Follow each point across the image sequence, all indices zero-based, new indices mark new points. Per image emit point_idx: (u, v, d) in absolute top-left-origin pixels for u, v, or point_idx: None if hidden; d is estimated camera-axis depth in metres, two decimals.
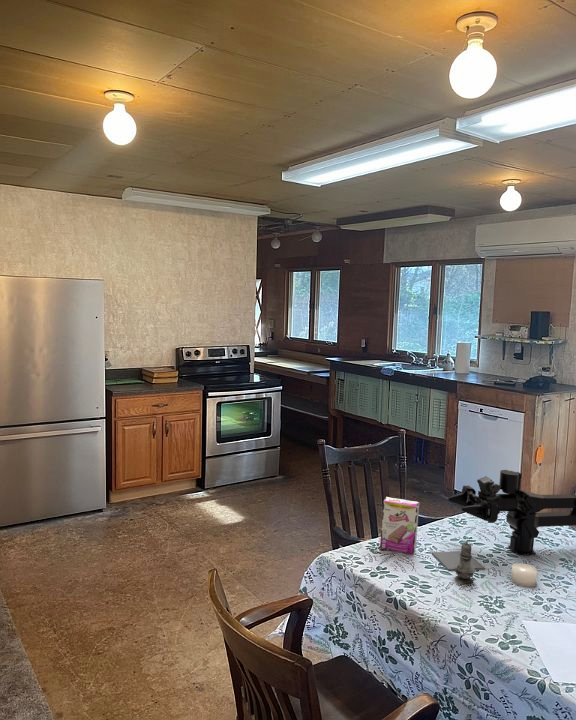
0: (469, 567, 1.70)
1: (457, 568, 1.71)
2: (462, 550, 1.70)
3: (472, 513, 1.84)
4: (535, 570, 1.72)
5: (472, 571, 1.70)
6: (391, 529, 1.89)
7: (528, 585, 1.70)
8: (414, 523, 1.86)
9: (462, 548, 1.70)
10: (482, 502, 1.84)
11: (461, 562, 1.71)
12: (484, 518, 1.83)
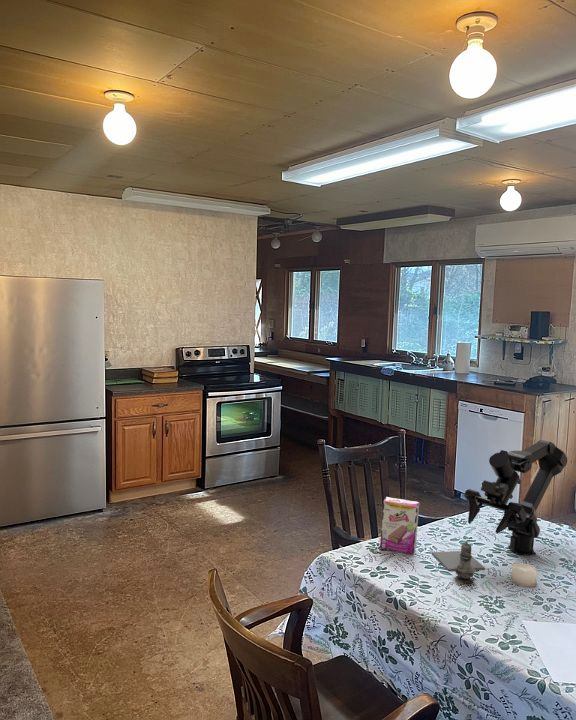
0: (469, 567, 1.70)
1: (457, 568, 1.71)
2: (462, 550, 1.70)
3: (505, 527, 1.74)
4: (535, 570, 1.72)
5: (472, 571, 1.70)
6: (391, 529, 1.89)
7: (528, 585, 1.70)
8: (414, 523, 1.86)
9: (462, 548, 1.70)
10: (506, 512, 1.73)
11: (461, 562, 1.71)
12: (516, 521, 1.75)
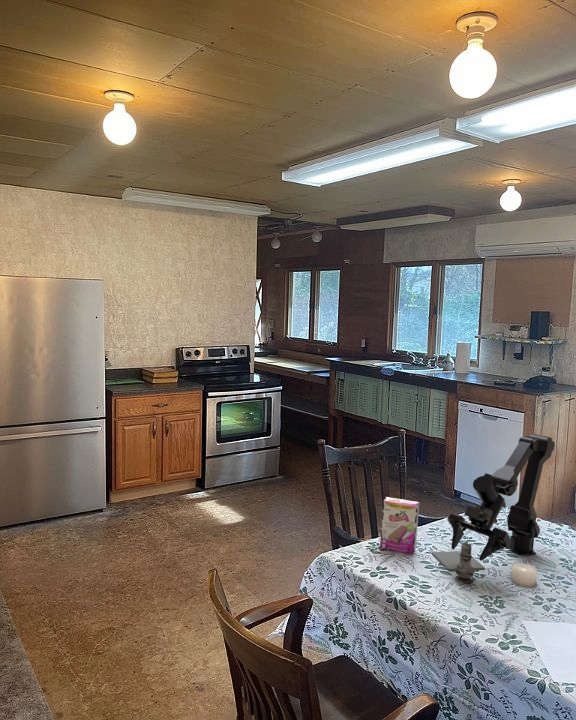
0: (469, 567, 1.70)
1: (457, 568, 1.71)
2: (462, 550, 1.70)
3: (489, 553, 1.69)
4: (535, 570, 1.72)
5: (472, 571, 1.70)
6: (391, 529, 1.89)
7: (528, 585, 1.70)
8: (414, 523, 1.86)
9: (462, 548, 1.70)
10: (490, 538, 1.68)
11: (461, 562, 1.71)
12: (500, 548, 1.69)
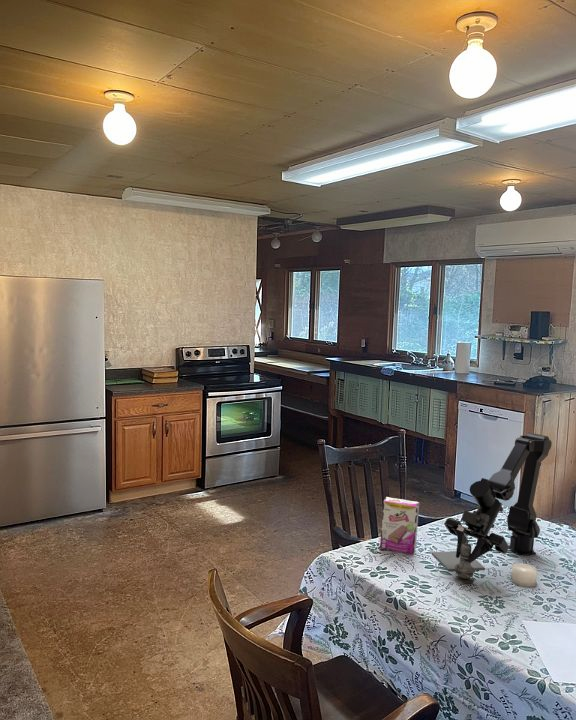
0: (469, 567, 1.70)
1: (457, 568, 1.71)
2: (462, 550, 1.70)
3: (478, 556, 1.70)
4: (535, 570, 1.72)
5: (472, 571, 1.70)
6: (391, 529, 1.89)
7: (528, 585, 1.70)
8: (414, 523, 1.86)
9: (462, 548, 1.70)
10: (479, 541, 1.69)
11: (461, 562, 1.71)
12: (489, 550, 1.70)
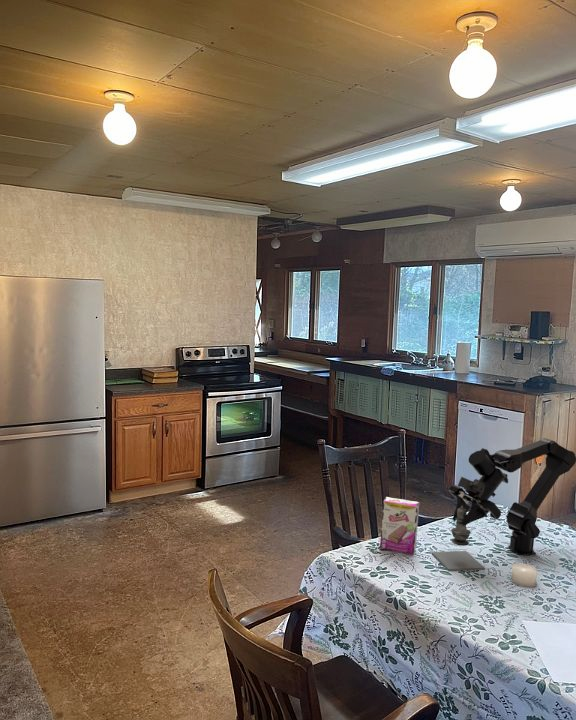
0: (463, 530, 1.81)
1: (453, 530, 1.83)
2: (457, 513, 1.82)
3: (472, 520, 1.80)
4: (535, 570, 1.72)
5: (466, 534, 1.81)
6: (390, 529, 1.89)
7: (528, 585, 1.70)
8: (414, 523, 1.86)
9: (457, 511, 1.82)
10: (473, 505, 1.80)
11: (456, 525, 1.83)
12: (484, 516, 1.80)
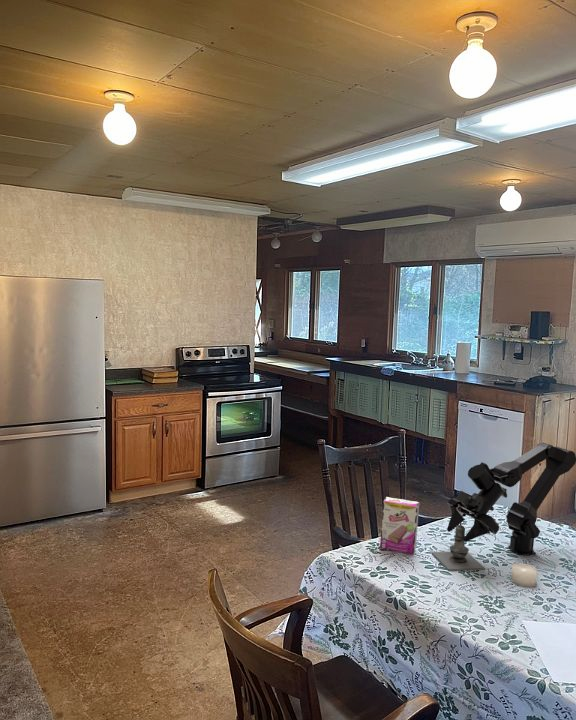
0: (462, 547, 1.82)
1: (451, 547, 1.84)
2: (456, 531, 1.83)
3: (475, 536, 1.79)
4: (535, 570, 1.72)
5: (464, 551, 1.82)
6: (391, 529, 1.89)
7: (528, 585, 1.70)
8: (414, 523, 1.86)
9: (456, 529, 1.83)
10: (475, 522, 1.79)
11: (455, 542, 1.83)
12: (487, 532, 1.79)
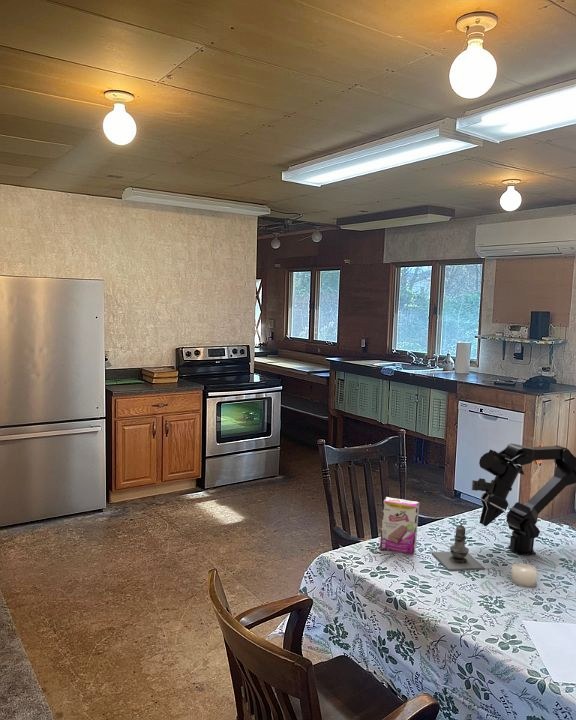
0: (462, 547, 1.82)
1: (451, 547, 1.84)
2: (456, 531, 1.83)
3: (492, 518, 1.82)
4: (535, 570, 1.72)
5: (464, 551, 1.82)
6: (391, 529, 1.89)
7: (528, 585, 1.70)
8: (414, 523, 1.86)
9: (456, 529, 1.83)
10: (486, 504, 1.83)
11: (455, 542, 1.83)
12: (501, 511, 1.81)
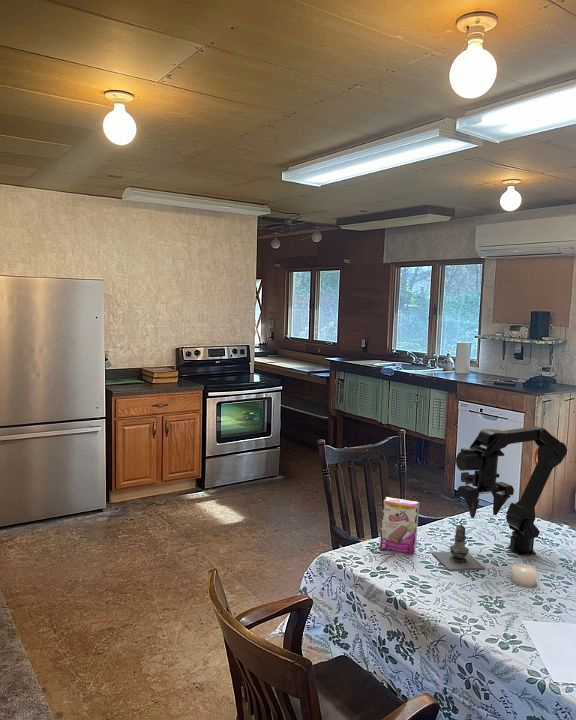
0: (462, 547, 1.82)
1: (451, 547, 1.84)
2: (456, 531, 1.83)
3: (472, 509, 1.85)
4: (535, 570, 1.72)
5: (464, 551, 1.82)
6: (391, 529, 1.89)
7: (528, 585, 1.70)
8: (414, 523, 1.86)
9: (456, 529, 1.83)
10: None
11: (455, 542, 1.83)
12: None
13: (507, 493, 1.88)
